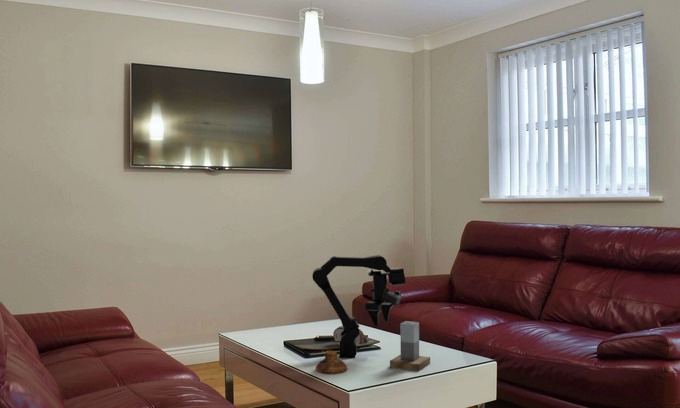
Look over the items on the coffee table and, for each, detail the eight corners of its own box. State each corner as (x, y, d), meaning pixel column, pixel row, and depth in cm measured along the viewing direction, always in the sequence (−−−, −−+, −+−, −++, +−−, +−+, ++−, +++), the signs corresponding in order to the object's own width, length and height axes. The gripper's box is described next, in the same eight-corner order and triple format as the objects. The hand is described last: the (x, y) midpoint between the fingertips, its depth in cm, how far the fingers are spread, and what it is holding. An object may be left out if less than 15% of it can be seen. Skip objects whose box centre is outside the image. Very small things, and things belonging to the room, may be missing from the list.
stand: (389, 367, 240) (389, 360, 240) (401, 360, 250) (401, 353, 250) (419, 371, 234) (419, 364, 234) (430, 363, 245) (430, 357, 245)
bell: (315, 367, 242) (315, 348, 242) (346, 366, 243) (345, 347, 243) (316, 375, 231) (316, 355, 230) (348, 374, 231) (348, 354, 231)
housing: (400, 359, 241) (400, 323, 241) (406, 356, 246) (405, 321, 246) (414, 361, 239) (413, 324, 239) (419, 358, 243) (418, 322, 243)
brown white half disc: (365, 347, 272) (364, 328, 272) (361, 349, 270) (361, 329, 270) (336, 343, 280) (335, 325, 280) (332, 345, 278) (332, 326, 278)
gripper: (388, 290, 246) (389, 329, 246) (407, 283, 262) (408, 320, 262) (362, 289, 252) (364, 327, 252) (383, 282, 268) (384, 318, 268)
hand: (381, 323), depth 258 cm, fingers open, 9 cm apart
